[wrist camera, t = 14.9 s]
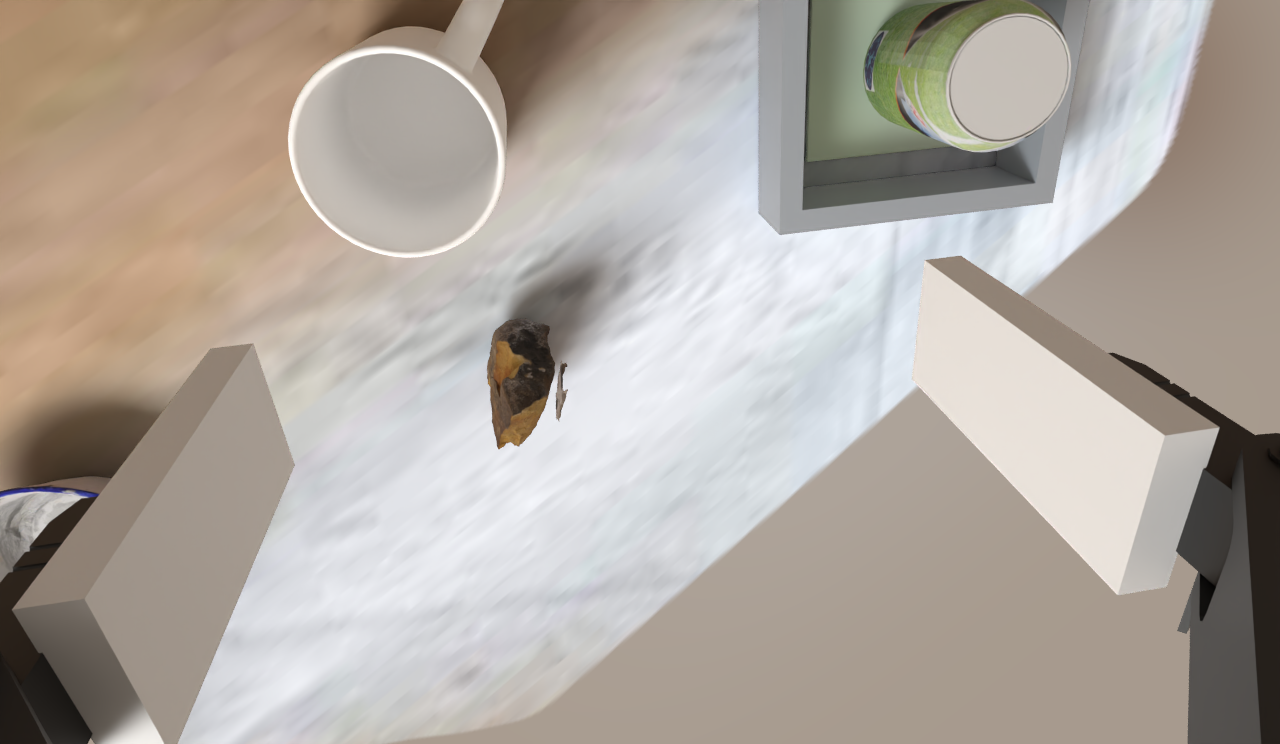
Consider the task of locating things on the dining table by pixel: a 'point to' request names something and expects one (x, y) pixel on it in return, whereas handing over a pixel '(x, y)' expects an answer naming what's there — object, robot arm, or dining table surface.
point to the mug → (405, 137)
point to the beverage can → (969, 71)
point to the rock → (521, 379)
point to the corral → (875, 124)
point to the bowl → (37, 512)
